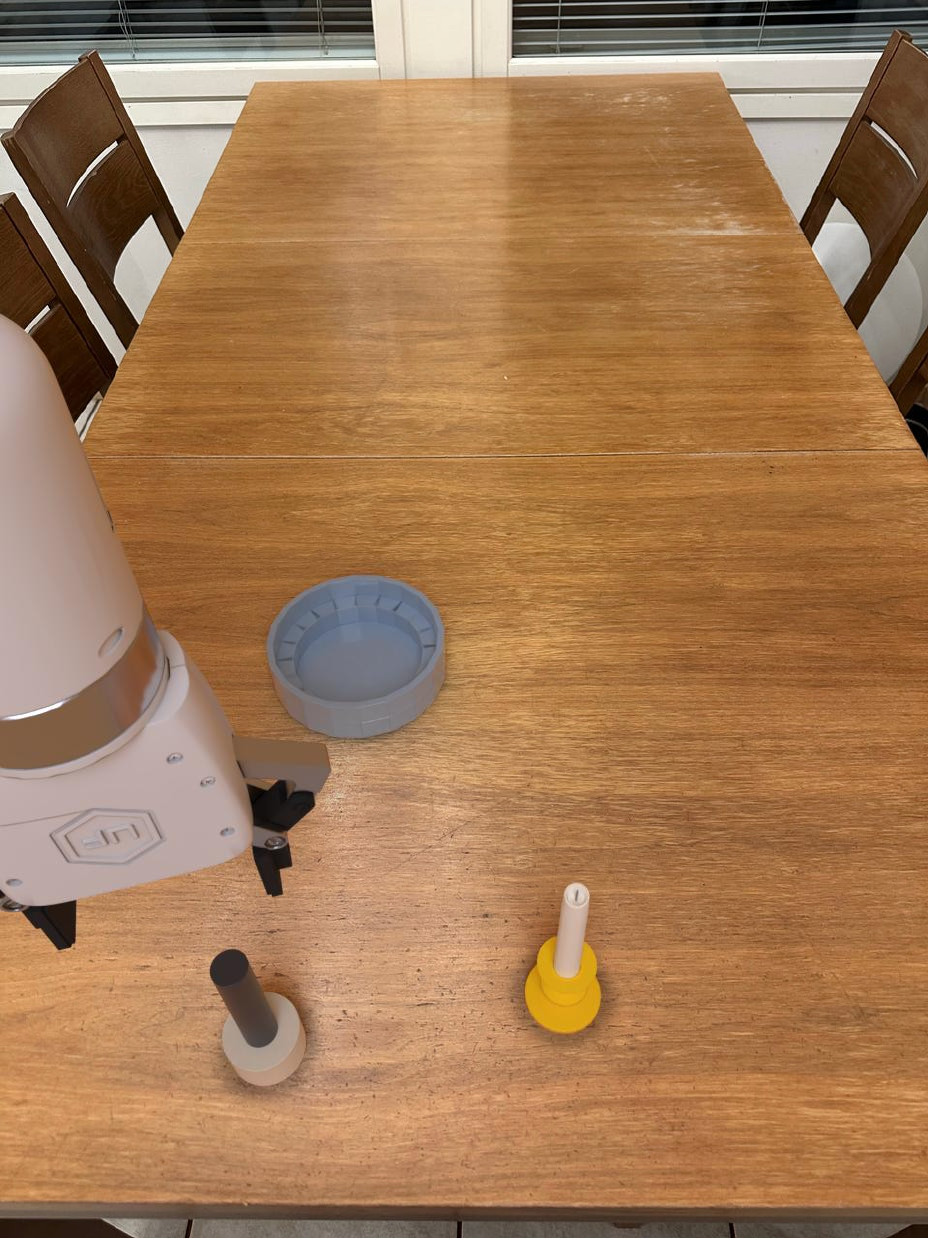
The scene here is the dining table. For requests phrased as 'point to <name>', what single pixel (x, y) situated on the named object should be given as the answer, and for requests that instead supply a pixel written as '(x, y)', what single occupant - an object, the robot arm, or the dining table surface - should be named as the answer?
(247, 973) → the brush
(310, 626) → the bowl
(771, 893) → the dining table surface
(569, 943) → the candle
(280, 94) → the dining table surface
